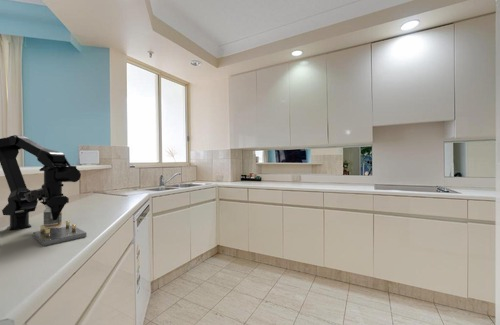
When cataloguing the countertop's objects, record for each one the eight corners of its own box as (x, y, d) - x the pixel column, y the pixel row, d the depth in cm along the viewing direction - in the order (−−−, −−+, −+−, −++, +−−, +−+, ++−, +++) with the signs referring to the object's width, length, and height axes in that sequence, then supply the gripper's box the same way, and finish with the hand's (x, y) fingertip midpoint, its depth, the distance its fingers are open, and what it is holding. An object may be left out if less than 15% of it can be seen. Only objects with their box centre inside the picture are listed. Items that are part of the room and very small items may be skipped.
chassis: (33, 236, 83) (33, 225, 83) (72, 229, 93) (72, 219, 93) (43, 246, 73) (43, 234, 73) (86, 236, 83) (86, 226, 83)
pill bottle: (63, 226, 94) (64, 203, 94) (46, 230, 89) (46, 205, 89) (58, 224, 97) (58, 202, 97) (41, 227, 92) (41, 204, 92)
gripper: (21, 181, 92) (21, 219, 92) (31, 184, 81) (30, 227, 81) (56, 180, 101) (56, 214, 101) (69, 182, 90) (68, 220, 90)
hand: (52, 218), depth 93 cm, fingers closed on pill bottle, 6 cm apart
